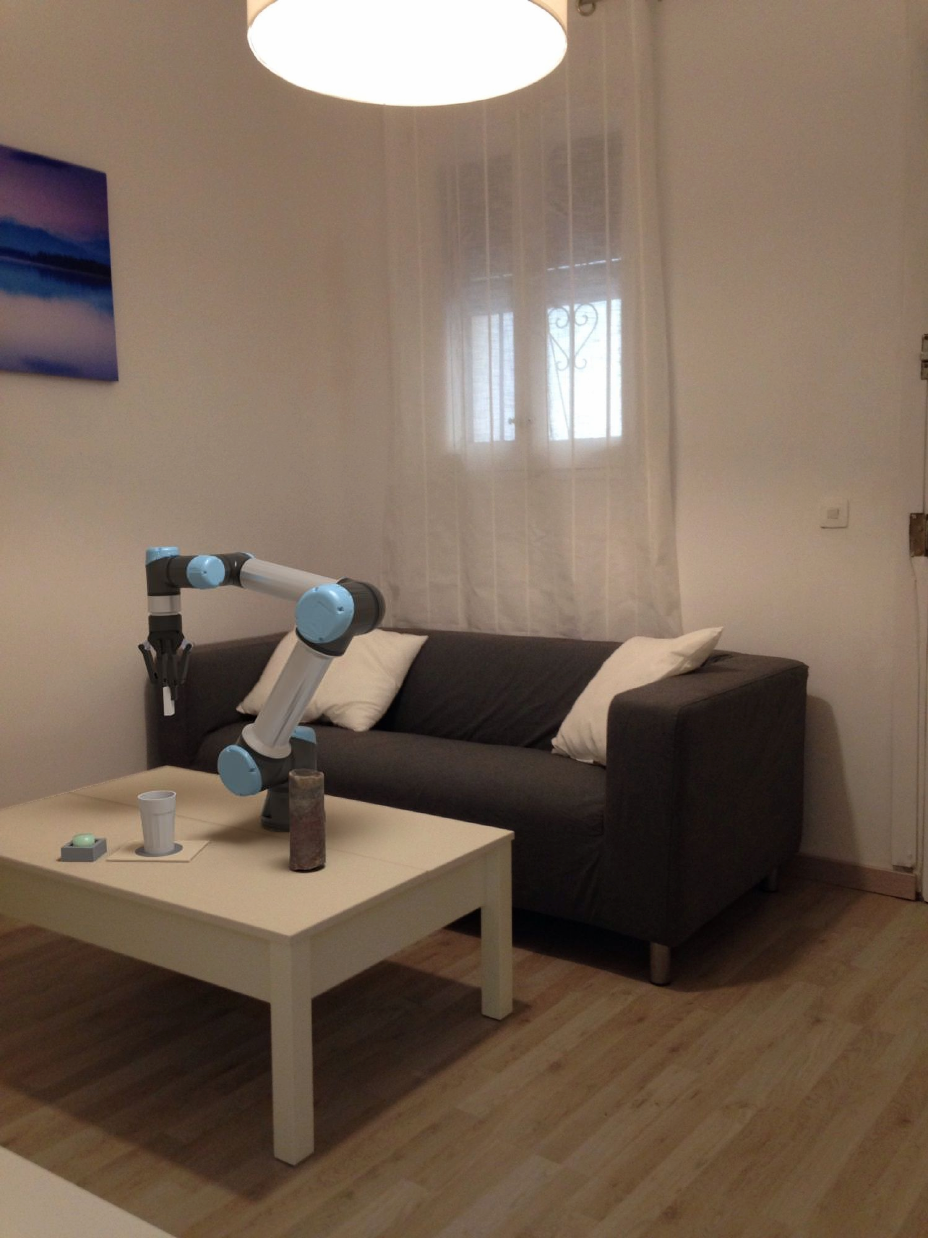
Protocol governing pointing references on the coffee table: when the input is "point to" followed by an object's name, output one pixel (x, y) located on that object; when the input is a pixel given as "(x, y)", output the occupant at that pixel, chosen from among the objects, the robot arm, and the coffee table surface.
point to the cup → (158, 820)
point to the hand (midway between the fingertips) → (169, 714)
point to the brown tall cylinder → (307, 819)
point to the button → (83, 840)
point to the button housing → (83, 851)
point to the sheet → (135, 853)
